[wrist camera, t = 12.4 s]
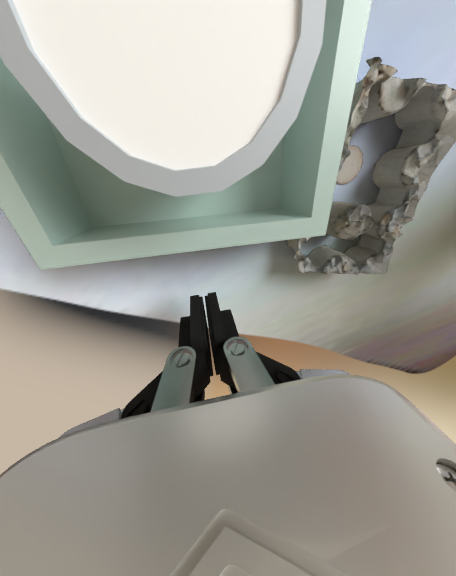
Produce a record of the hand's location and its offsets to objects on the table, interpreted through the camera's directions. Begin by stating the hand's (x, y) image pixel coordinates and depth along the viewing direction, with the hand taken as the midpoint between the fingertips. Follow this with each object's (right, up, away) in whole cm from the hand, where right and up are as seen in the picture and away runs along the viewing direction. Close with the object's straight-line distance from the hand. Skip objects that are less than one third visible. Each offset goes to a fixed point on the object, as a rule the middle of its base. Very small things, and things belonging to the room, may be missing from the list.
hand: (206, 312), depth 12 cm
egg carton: (+10, +9, +2) cm, 13 cm away
